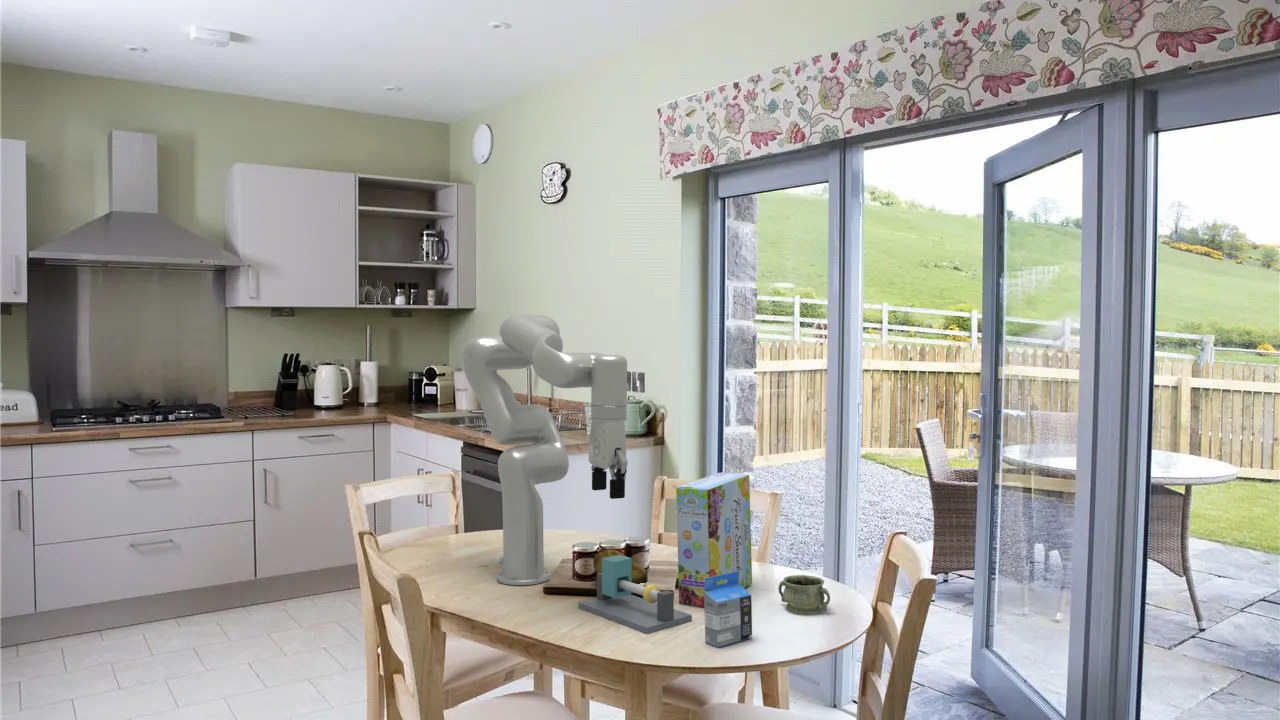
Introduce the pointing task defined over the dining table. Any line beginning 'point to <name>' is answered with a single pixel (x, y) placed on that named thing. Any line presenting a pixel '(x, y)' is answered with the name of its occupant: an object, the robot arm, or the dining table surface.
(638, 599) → the slider rail stand
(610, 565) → the teal sliding cube
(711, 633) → the label tape box
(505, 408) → the robot arm
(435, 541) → the dining table surface
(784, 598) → the vessel
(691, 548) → the snack box
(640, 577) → the potato
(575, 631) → the dining table surface
